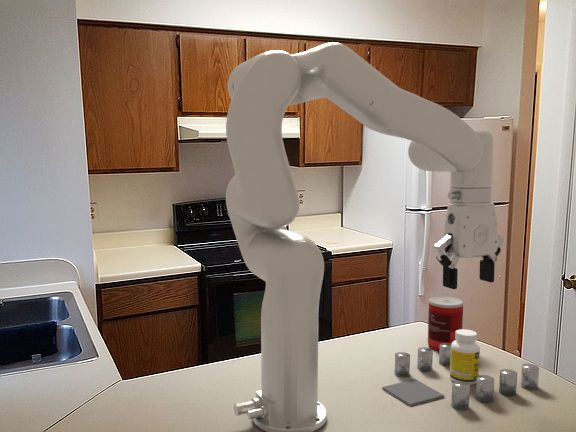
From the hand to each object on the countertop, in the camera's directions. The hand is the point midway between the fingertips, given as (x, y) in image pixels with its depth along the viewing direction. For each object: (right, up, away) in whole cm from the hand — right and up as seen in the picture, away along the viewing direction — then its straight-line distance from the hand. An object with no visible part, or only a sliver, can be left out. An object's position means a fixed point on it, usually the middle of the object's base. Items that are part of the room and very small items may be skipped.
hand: (468, 284), depth 105 cm
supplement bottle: (0, -20, +2) cm, 20 cm away
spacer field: (0, -19, +2) cm, 19 cm away
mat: (-12, -20, -4) cm, 23 cm away
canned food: (+1, -17, +21) cm, 27 cm away
